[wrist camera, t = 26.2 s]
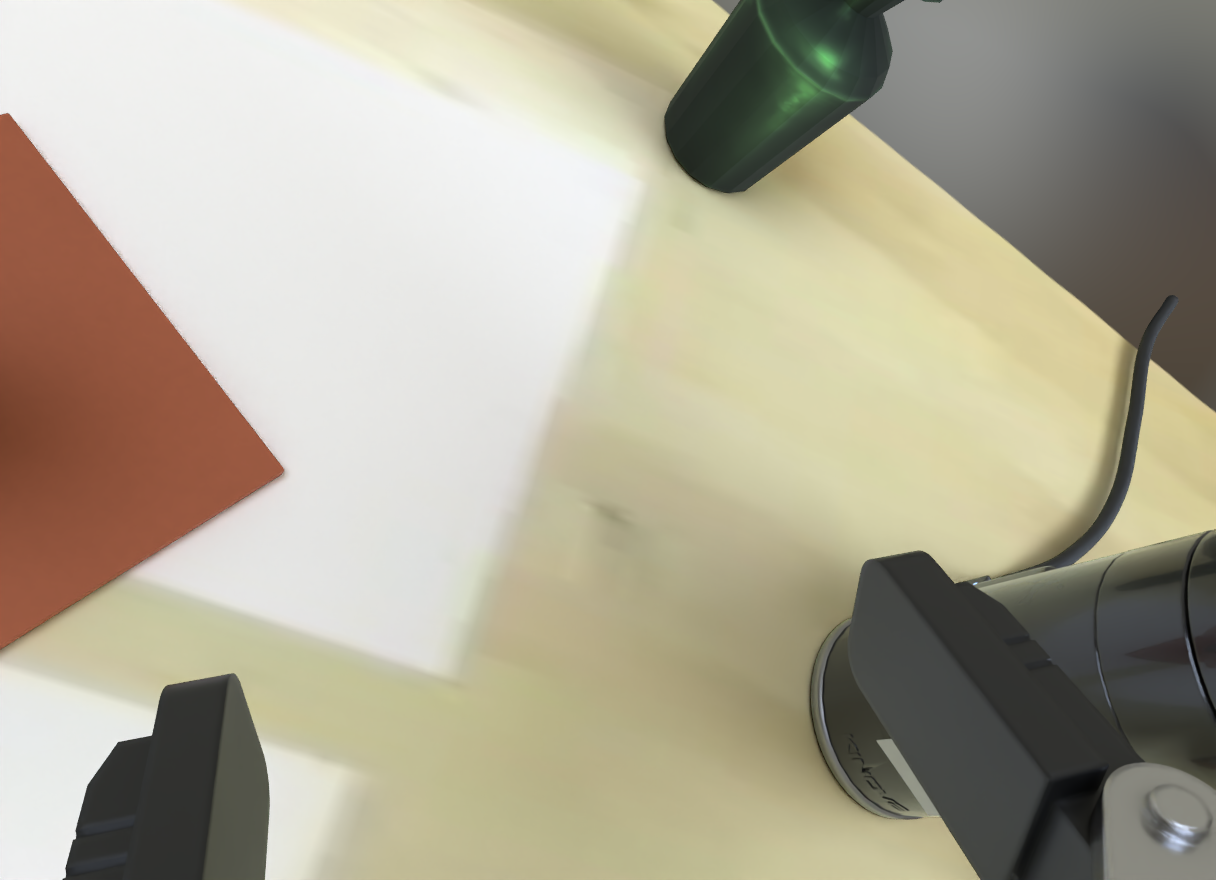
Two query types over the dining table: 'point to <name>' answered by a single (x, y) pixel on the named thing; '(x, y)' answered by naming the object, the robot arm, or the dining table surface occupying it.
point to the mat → (95, 407)
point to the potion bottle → (776, 85)
